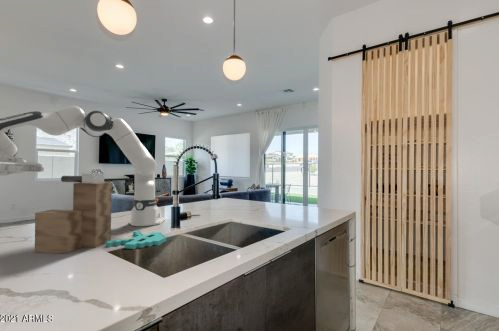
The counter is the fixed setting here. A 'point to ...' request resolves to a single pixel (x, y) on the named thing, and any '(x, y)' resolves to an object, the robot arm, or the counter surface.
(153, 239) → the alien figure
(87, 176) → the mallet
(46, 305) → the counter surface
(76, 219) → the step stand
